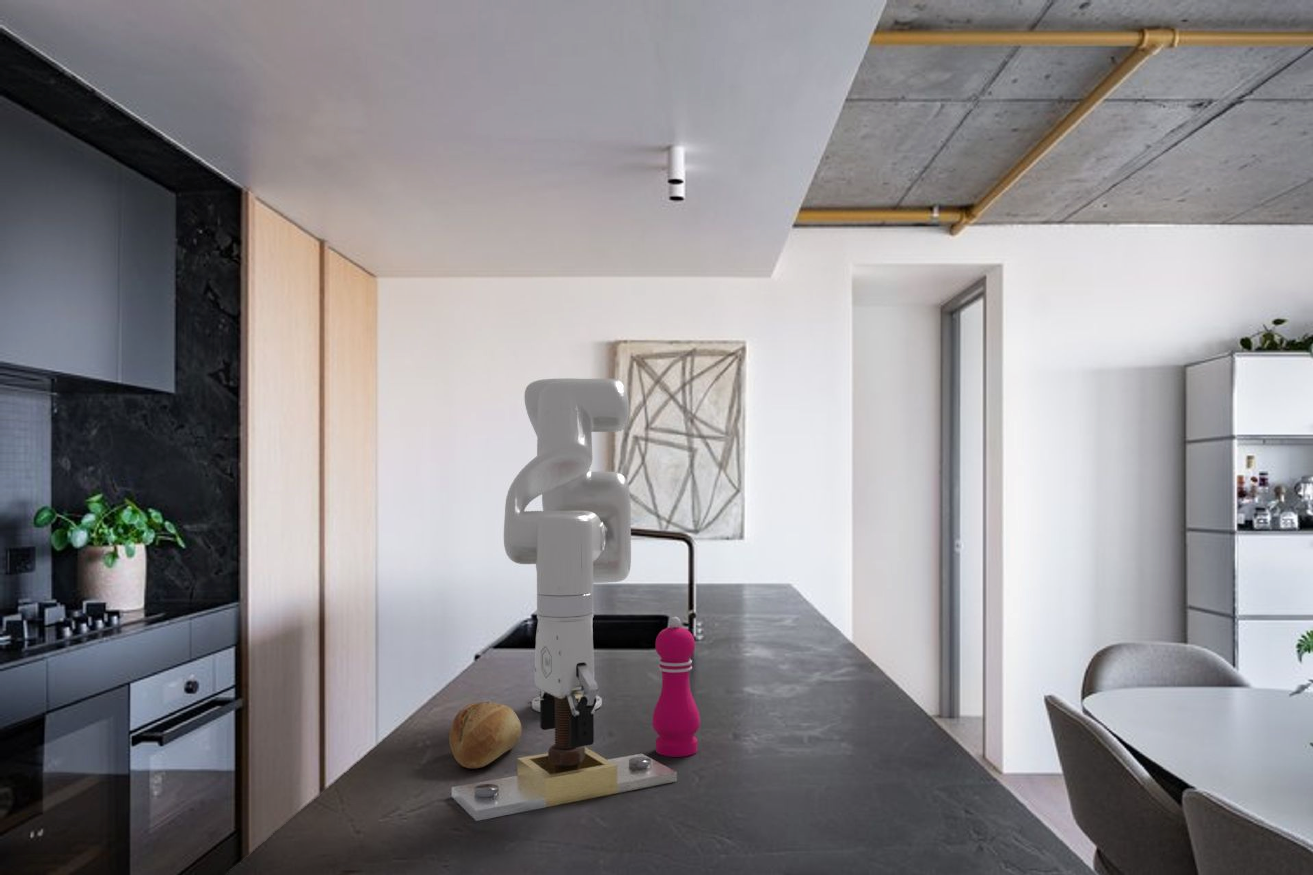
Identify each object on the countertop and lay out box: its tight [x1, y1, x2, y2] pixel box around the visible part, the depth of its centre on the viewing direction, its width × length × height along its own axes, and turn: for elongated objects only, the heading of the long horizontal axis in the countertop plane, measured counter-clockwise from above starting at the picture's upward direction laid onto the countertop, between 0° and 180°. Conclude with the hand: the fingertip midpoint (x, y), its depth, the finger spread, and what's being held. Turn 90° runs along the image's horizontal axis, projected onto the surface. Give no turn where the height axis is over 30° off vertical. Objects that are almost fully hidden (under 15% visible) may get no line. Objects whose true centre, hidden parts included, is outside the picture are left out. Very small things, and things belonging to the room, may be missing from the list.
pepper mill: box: [651, 616, 701, 758], centre depth 138 cm, size 7×7×20 cm
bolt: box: [547, 676, 586, 774], centre depth 122 cm, size 6×5×15 cm
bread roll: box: [448, 701, 522, 769], centre depth 135 cm, size 10×15×8 cm, turn 172°
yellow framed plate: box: [451, 746, 678, 822], centre depth 121 cm, size 10×28×4 cm, turn 119°
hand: (566, 736), depth 121 cm, fingers open, 9 cm apart
